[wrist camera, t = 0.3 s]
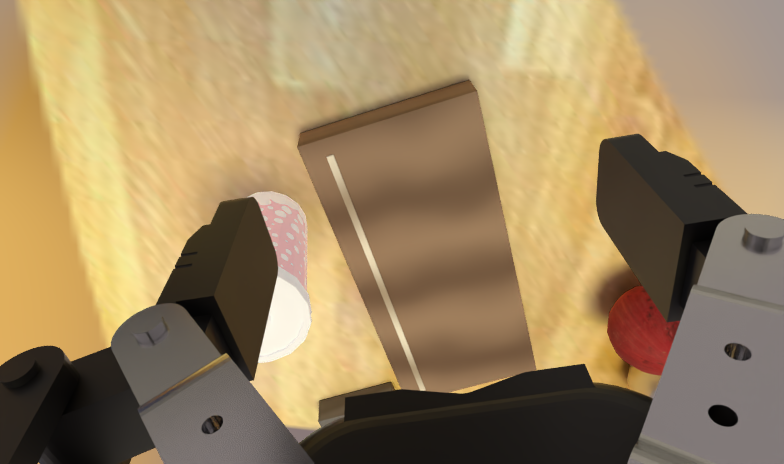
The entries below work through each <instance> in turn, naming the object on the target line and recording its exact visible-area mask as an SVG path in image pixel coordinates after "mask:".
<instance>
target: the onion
mask: <svg viewBox="0 0 784 464" xmlns="http://www.w3.org/2000/svg"><path fill="white" fill-rule="evenodd" d="M679 323H680V321H674V322H666V320H665V319H664V317H663V316H662V314H661V313H660V311H659V310H658V308H657V307H656V305H655V304H654V302H653V301H652V299H651V298H650V296H649V295H648V293H647V292H646V290H645V289H644V287H643V286H637V287H634V288H632V289H630V290H629V291H627V292H625V293H624V294H623V295H622V296H621V297H620V298H619V299H618V300H617V301H616V302H615V304H614V306H613V307H612V309H611V310H610V312H609V318H608V329H607V333H608V336H609V339H610V341H611V343H612V345H613V347H614V349H615V351H616V353H617V354H618V355H619V356H620V357H621V359H622V360H624V361H625V362H627V363H628V364H630V365H631V366H633V367H635V368H636V369H638V370H640V371H642V372H645V373H648V374H653V375H659V376H661V375H662V372H663V369H664V366H665V363H666V360H667V358H668V355H669V352H670V349H671V346H672V343H673V340H674V338H675V335H676V332H677V329H678V326H679Z"/></svg>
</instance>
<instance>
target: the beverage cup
mask: <svg viewBox="0 0 784 464" xmlns="http://www.w3.org/2000/svg"><path fill="white" fill-rule="evenodd" d="M248 197H254V198H255V199H256V200H257V202H258V204H259V206H260V209H261V212H262V215H263V217H264V220H265V223H266V226H267V229H268V231H269V234H270V237H271V240H272V242H273V245H274V248H275V251H276V255H277V261H278V276H277V280H276V285H275V289H274V293H273V298H272V302H271V307H270V311H269V315H268V320H267V324H266V329H265V333H264V338H263V342H262V346H261V351H260V355H259V360H258V363H263V362H271V361H274V360H276V359H279V358H281V357H284V356H286V355H289V354H291V353H292V352H293V351H294V350H295V349H296V348H297V347H298V346H299V345H300V344H301V343H302V342H304V341H305V338H306V336H307V333H308V330H309V328H310V325H311V320H312V319H311V313H312V312H311V306H310V300H309V294H308V293H307V222H306V215H305V213H304V212H303V210H302V209H301V207H300V206H299V204H298V203H297V202H295V201H294V200H292V199H291V198H289V197H288V196H287V195H283V194H280V193H276V192H273V191H269V192H257V193H254V194H252V195H250V196H248ZM246 198H247V197H246Z"/></svg>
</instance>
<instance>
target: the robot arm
mask: <svg viewBox="0 0 784 464" xmlns="http://www.w3.org/2000/svg"><path fill="white" fill-rule="evenodd" d="M596 205H597V212H598V216H599V220H600V222H601V224H602V226H603V228H604V229H605V231H606V232H607V234H608V235H609V237H610V238H611V240H612V241H613V243H614V244H615V246H616V247H617V249H618V250H619V252H620V253H621V255H622V256H623V258H624V259H625V261H626V262H627V264H628V265H629V266H630V268H631V269H632V271H633V272H634V274H635V275H636V277H637V278H638V280H639V281H640V283H641V284H642V286H643V287H644V289H645V290H646V292H647V293H648V295H649V296H650V298H651V299H652V301H653V302H654V304H655V305H656V307H657V308H658V310H659V311H660V313H661V314H662V316H663V317H664V319H665V320H666V322H674V321H680V323H679V326H678V329H677V332H676V335H675V338H674V340H673V343H672V346H671V349H670V352H669V355H668V358H667V360H666V363H665V366H664V369H663V372H662V375H661V378H660V380H659V383H658V386H657V389H656V392H655V395H654V398H651V397H649V396H647V395H644V394H641V393H639V392H636V391H633V390H630V389H626V388H622V387H619V386H614V385H608V384H603V383H594V382H592V380H591V377H590V375H589V373H588V371H587V368H586V366H585V364H579V365H572V366H565V367H558V368H551V369H544V370H537V371H529V372H524V373H521V374H518V375H516V376H513V377H510V378H508V379H505V380H502V381H499V382H497V383H494V384H491V385H489V386H486V387H483V388H481V389H478V390H475V391H473V392H469V393H464V394H458V393H445V392H432V391H419V390H406V389H401V390H393V391H386V392H379V393H372V394H365V395H358V396H350V397H345V411H344V417H341V418H339V419H336V420H334V421H332V422H330V423H328V424H326V425H324V426H323V427H321V428H319V429H318V430H316V431H315V432H313V433H312V434H310V435H309V436H308V437H306V438H305V439H304V440H303V441H301V442H300V443H298V442H297V441H296V439H295V438H294V437H293V435H292V434H291V433H290V432H289V430H288V429H287V428H286V427H285V425H284V424H283V423H282V422H281V420H280V419H279V418H278V417H277V415H276V414H275V413H274V412H273V410H272V409H271V408H270V407H269V405H268V404H267V403H266V402H265V400H264V399H263V398H262V397H261V395H260V394H259V393H258V392H257V390H256V389H255V388H254V387H253V385H252V384H251V383H250V382H249V381H252V380H254V377H255V373H256V368H257V364H258V360H259V355H260V351H261V346H262V342H263V338H264V333H265V329H266V324H267V320H268V315H269V311H270V307H271V302H272V298H273V293H274V289H275V285H276V280H277V276H278V261H277V255H276V251H275V248H274V245H273V242H272V240H271V237H270V234H269V231H268V229H267V226H266V223H265V220H264V217H263V215H262V212H261V209H260V206H259V204H258V202H257V200H256V199H255V198H254V197H247V198H241V199H235V200H229V201H223V202H221V203H220V204H219V206H218V209H217V211H216V213H215V215H214V217H213V220H212V222H211V224H209V225H203V226H202V227H201V228H200V229H199V230H198V231H197V232H196V233H195V234H193V235H192V236H191V237H190V238H189V239H188V241H187V243H186V245H185V247H184V249H183V251H182V253H181V257H179V259H178V261H177V263H176V265H175V269H173V271H172V273H171V275H170V277H169V279H168V281H167V283H166V285H165V287H164V289H163V291H162V293H161V295H160V297H159V299H158V301H157V303H156V305H155V306H151V307H149V308H146V309H144V310H142V311H140V312H138V313H136V314H135V315H133V316H132V317H130V318H129V319H127V320H126V321H125V322H124V323H123V324H122V325H121V326H120V327H119V328H118V329H117V331H116V332H115V334H114V336H113V338H112V341H111V347H109V348H106V349H103V350H101V351H98V352H96V353H93V354H90V355H87V356H85V357H82V358H79V359H77V360H74V361H70V360H69V359H68V357H67V356H66V355H65V353H64V352H63V351H62V350H61V349H60V348H58V347H55V346H41V347H37V348H33V349H30V350H28V351H25V352H23V353H21V354H19V355H17V356H15V357H13V358H11V359H10V360H8V361H7V362H5V363H4V364H3V365H1V366H0V464H37V463H38V462H39V463H40V464H129V463H130V461H131V458H132V457H134V456H137V455H139V454H141V453H144V452H146V451H148V450H151V449H153V448H156V449H157V451H158V453H159V455H160V457H161V459H162V461H163V463H164V464H784V219H781V218H778V217H773V216H769V215H761V214H747V213H746V212H745V211H744V210H743V209H742V208H740V207H739V206H738V205H737V204H736V203H735V202H734V201H733V200H732V199H730V198H729V197H728V196H727V195H726V194H725V193H724V192H723V191H721V190H720V189H719V188H718V187H717V186H716V185H712V182H711V181H710V180H709V179H708V178H707V177H706V176H705V175H701V172H700V171H699V170H698V169H697V168H696V167H694V166H693V165H692V164H691V163H690V162H689V161H688V160H686V159H684V158H681V157H679V156H676V155H674V154H672V153H669V152H667V151H663V152H658V151H657V150H656V149H655V148H654V147H653V146H652V145H651V144H650V143H649V142H648V141H647V140H646V139H645V138H644V137H642V136H641V135H640V134H633V135H627V136H621V137H615V138H609V139H604V140H603V141H602V142H601V145H600V149H599V163H598V179H597V195H596Z"/></svg>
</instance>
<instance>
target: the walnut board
mask: <svg viewBox="0 0 784 464" xmlns="http://www.w3.org/2000/svg"><path fill="white" fill-rule="evenodd" d="M297 148H298V150H299V152H300V155H301V157H302V159H303V162H304V164H305V166H306V169H307V171H308V173H309V176H310V178H311V180H312V183H313V185H314V187H315V190H316V192H317V194H318V197H319V199H320V201H321V204H322V206H323V208H324V211H325V213H326V215H327V218H328V220H329V222H330V224H331V227H332V229H333V231H334V234H335V236H336V238H337V241H338V243H339V245H340V248H341V250H342V252H343V255H344V257H345V259H346V262H347V264H348V266H349V269H350V271H351V273H352V276H353V278H354V280H355V283H356V285H357V287H358V290H359V292H360V294H361V297H362V299H363V301H364V303H365V306H366V308H367V310H368V313H369V315H370V317H371V320H372V322H373V324H374V327H375V329H376V331H377V334H378V336H379V338H380V341H381V343H382V345H383V348H384V350H385V352H386V355H387V357H388V359H389V362H390V364H391V366H392V369H393V371H394V373H395V375H396V378H397V380H398V382H399V385H400V387H401V389H406V390H419V391H432V392H445V393H449V392H453V391H456V390H460V389H464V388H468V387H472V386H476V385H480V384H483V383H487V382H491V381H495V380H499V379H503V378H507V377H510V376H514V375H518V374H521V373H524V372H529V371H534V370H536V365H535V361H534V356H533V351H532V346H531V342H530V337H529V332H528V328H527V323H526V318H525V314H524V309H523V304H522V300H521V295H520V290H519V286H518V281H517V276H516V271H515V267H514V262H513V257H512V253H511V248H510V243H509V239H508V234H507V229H506V225H505V220H504V215H503V210H502V206H501V201H500V196H499V192H498V187H497V182H496V178H495V173H494V168H493V164H492V159H491V154H490V150H489V145H488V140H487V135H486V131H485V126H484V121H483V117H482V112H481V107H480V103H479V98H478V93H477V90H476V89H475V87H474V86H473V84H472V83H471V81H470V80H467V81H464V82H461V83H458V84H455V85H452V86H448V87H445V88H442V89H439V90H436V91H433V92H429V93H426V94H423V95H420V96H417V97H414V98H410V99H407V100H404V101H401V102H398V103H395V104H392V105H388V106H385V107H382V108H379V109H376V110H373V111H369V112H366V113H363V114H360V115H357V116H354V117H350V118H347V119H344V120H341V121H338V122H335V123H331V124H328V125H325V126H322V127H319V128H316V129H312V130H309V131H306V132H303V133H300V136H299V141H298V146H297ZM393 390H394V387H393V385H392V383H391V382H389V383H385V384H381V385H378V386H374V387H370V388H366V389H363V390H359V391H355V392H351V393H347V394H344V395H340V396H336V397H332V398H328V399H325V400H321V401H319V419H318V422H319V424H320V425H321V427H323V426H324V425H326V424H328V423H330V422H332V421H334V420H336V419H339V418H341V417H344V411H345V397H350V396H358V395H365V394H372V393H379V392H386V391H393Z"/></svg>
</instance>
